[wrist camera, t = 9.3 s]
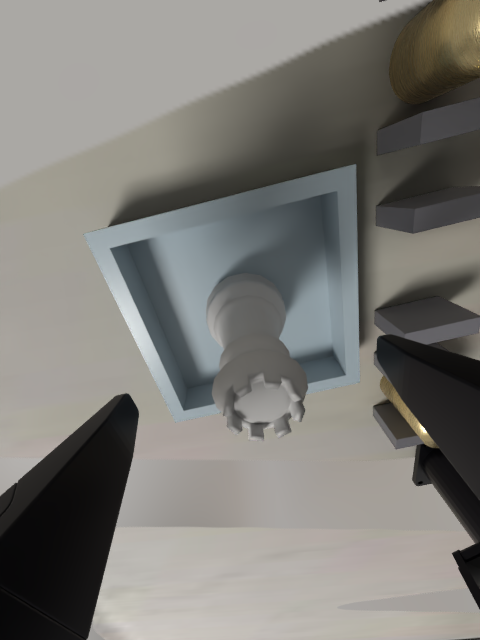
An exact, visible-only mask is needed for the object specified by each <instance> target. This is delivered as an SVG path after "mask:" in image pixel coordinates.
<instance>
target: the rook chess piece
mask: <svg viewBox="0 0 480 640" xmlns="http://www.w3.org/2000/svg"><path fill="white" fill-rule="evenodd" d="M206 321H207V325H208V328H209V331H210V334H211V336H212V337H213V338H214V339H215V340H216V341H217V342H218V344H219V345H220V346H221V347H223V349H224V351H223V353H222V354H221V357H220V363H219V368H220V372H219V373H218V374H217V376H216V377H215V378H214V383H213V389H212V396H213V399H214V402H215V405H216V407H217V409H219V410H220V411H221V412H222V413H223V416H226V417H227V427H228V428H229V429H230V430H231V431H232V432H233V433H234V434H235V435H237V434H239V433H240V432H241V431H242V427H245V428H247V429H248V436H249V440H250V441H264V433H263V429H268V428H273V427H274V429H275V433H276V435H277V437H278V438H280V437H282V436H284V435H286V434H288V433H290V432H291V428H290V425H289V422H288V420H289V419H290V418H291V417H292V419H293V420H294V421H299V422H301V420H302V418H303V415H304V413H305V408H304V406H303V401H304V398H305V395H306V392H307V390H308V384H307V376H306V373H305V371H304V370H303V369H302V367H301V366H300V365H299V363H298V362H297V361H296V360H294V359H292V358H290V353H289V350H288V349H287V347H286V346H285V345H284V343H283V342H282V341H281V340H279V337H280V335H281V333H282V331H283V328H284V324H285V321H286V311H285V305H284V301H283V300H282V295H281V293H280V292H279V291H278V289H277V288H276V286H275V285H274V283H272V282H271V281H269V280H267V279H266V278H264V277H263V276H261V275H256V274H249V273H241V274H237V275H233V276H229V277H227V278H226V279H224V280H223V281H222V282H220V283H219V284H217V285H216V286H215V287H214V289H213V291H212V292H211V294H210V295H209V297H208V299H207V306H206Z"/></svg>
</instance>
